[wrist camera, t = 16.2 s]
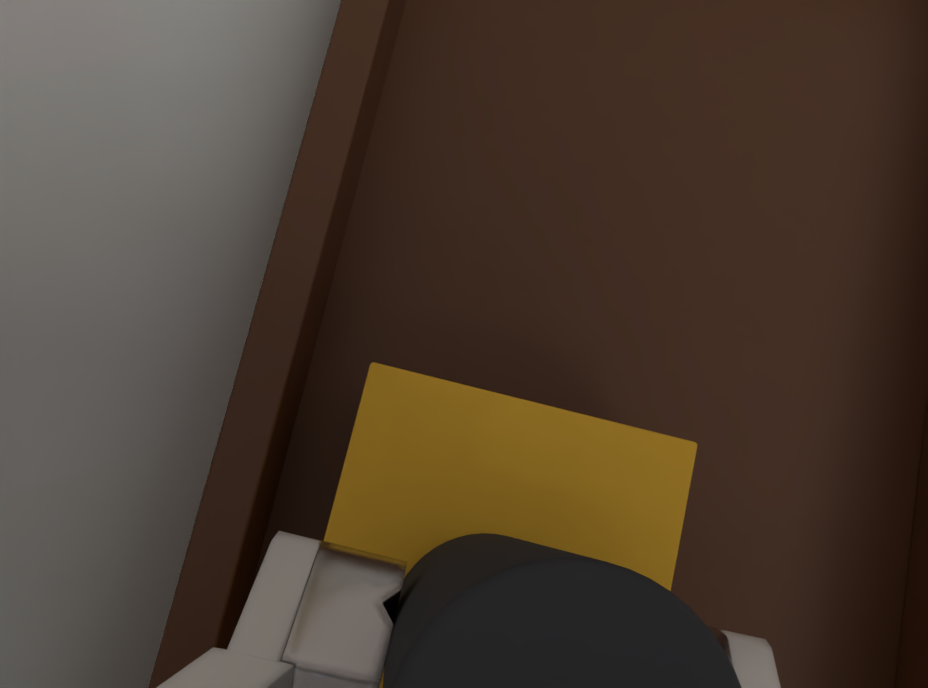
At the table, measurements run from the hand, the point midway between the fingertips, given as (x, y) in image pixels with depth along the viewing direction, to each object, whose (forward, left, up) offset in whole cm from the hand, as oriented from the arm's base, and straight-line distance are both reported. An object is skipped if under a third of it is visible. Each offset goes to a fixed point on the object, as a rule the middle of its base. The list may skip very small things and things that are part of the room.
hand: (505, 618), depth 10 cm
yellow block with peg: (0, 0, -5) cm, 5 cm away
